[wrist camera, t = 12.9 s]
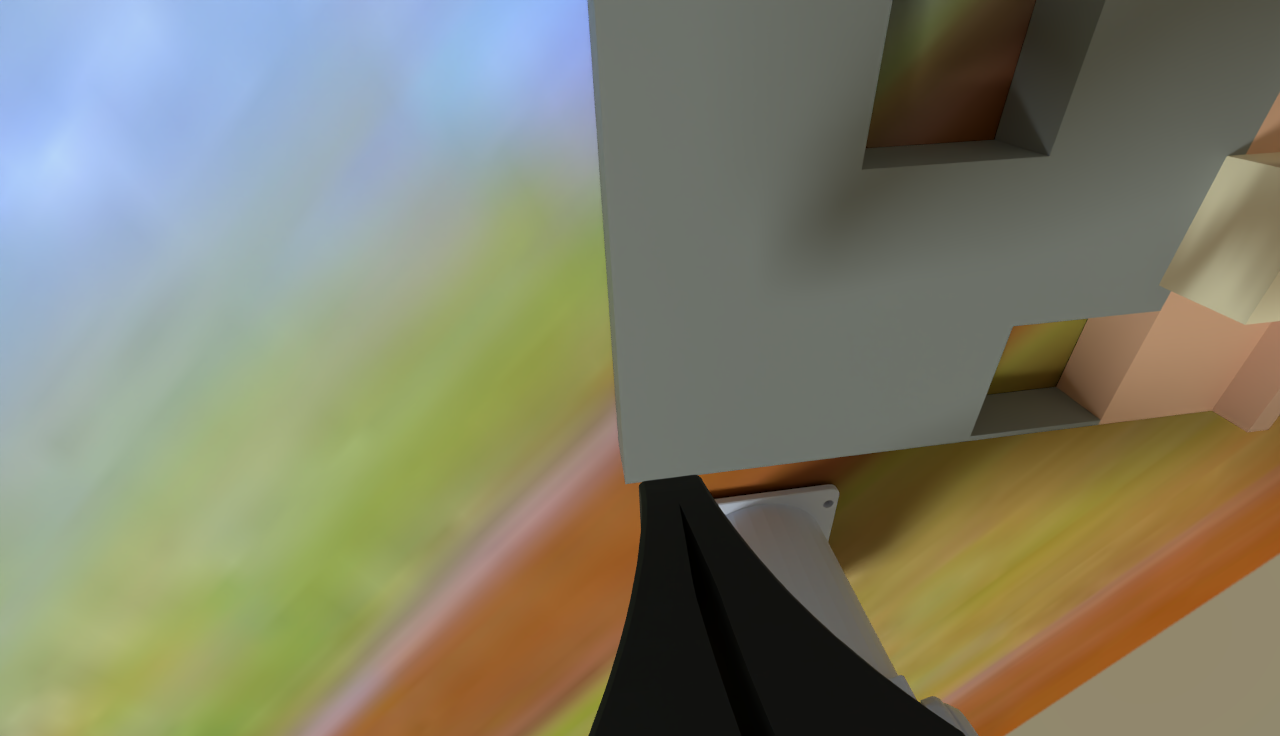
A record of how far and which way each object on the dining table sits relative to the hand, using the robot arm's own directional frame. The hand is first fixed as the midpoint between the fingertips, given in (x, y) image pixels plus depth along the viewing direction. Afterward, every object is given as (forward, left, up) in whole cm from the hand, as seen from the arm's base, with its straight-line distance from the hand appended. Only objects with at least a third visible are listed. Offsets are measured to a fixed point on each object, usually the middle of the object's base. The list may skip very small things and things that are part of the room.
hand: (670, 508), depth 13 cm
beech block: (+3, -22, -7) cm, 23 cm away
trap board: (+2, -13, -9) cm, 16 cm away
